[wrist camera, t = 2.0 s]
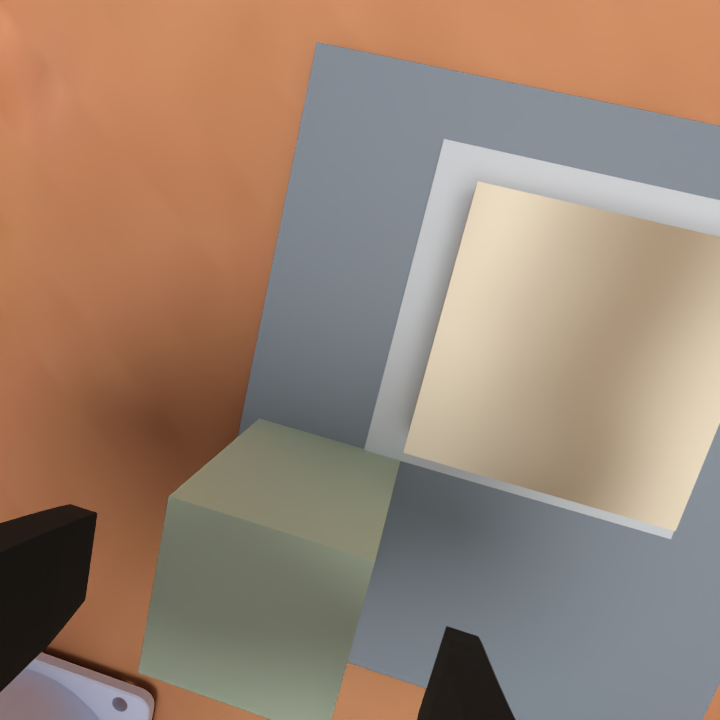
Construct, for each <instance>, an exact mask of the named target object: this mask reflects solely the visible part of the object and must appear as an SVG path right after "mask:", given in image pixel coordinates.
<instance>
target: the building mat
mask: <svg viewBox="0 0 720 720" xmlns="http://www.w3.org/2000/svg"><path fill="white" fill-rule="evenodd" d="M478 181H479V182H483V183H488V184H492V185H496V186H501V187H505V188H509V189H514V190H518V191H522V192H527V193H531V194H535V195H540V196H544V197H549V198H553V199H557V200H562V201H566V202H570V203H575V204H579V205H583V206H588V207H592V208H596V209H601V210H605V211H610V212H614V213H618V214H623V215H627V216H631V217H636V218H640V219H644V220H649V221H653V222H657V223H662V224H666V225H671V226H675V227H679V228H684V229H688V230H692V231H697V232H701V233H705V234H710V235H714V236H718V237H720V126H718V125H713V124H708V123H703V122H698V121H694V120H689V119H684V118H679V117H674V116H670V115H665V114H660V113H655V112H650V111H646V110H641V109H636V108H631V107H626V106H621V105H617V104H612V103H607V102H602V101H597V100H593V99H588V98H583V97H578V96H573V95H569V94H564V93H559V92H554V91H549V90H545V89H540V88H535V87H530V86H525V85H521V84H516V83H511V82H506V81H501V80H497V79H492V78H487V77H482V76H477V75H473V74H468V73H463V72H458V71H453V70H449V69H444V68H439V67H434V66H429V65H425V64H420V63H415V62H410V61H405V60H401V59H396V58H391V57H386V56H381V55H377V54H372V53H367V52H362V51H357V50H353V49H348V48H343V47H338V46H333V45H329V44H324V43H319V42H317V43H316V48H315V53H314V58H313V63H312V68H311V73H310V78H309V83H308V88H307V93H306V98H305V103H304V108H303V113H302V118H301V123H300V128H299V133H298V138H297V143H296V148H295V153H294V158H293V163H292V168H291V173H290V178H289V183H288V188H287V193H286V198H285V203H284V208H283V213H282V218H281V223H280V228H279V233H278V238H277V243H276V248H275V253H274V258H273V263H272V268H271V273H270V278H269V283H268V287H267V292H266V297H265V302H264V307H263V312H262V317H261V322H260V327H259V332H258V337H257V342H256V347H255V352H254V357H253V362H252V367H251V372H250V377H249V382H248V387H247V392H246V397H245V402H244V407H243V412H242V417H241V422H240V427H239V432H238V436H239V435H241V434H242V433H243V432H244V431H245V430H246V429H248V428H249V427H250V426H251V425H252V424H253V423H255V422H256V421H257V420H258V419H259V418H260V419H263V420H266V421H270V422H273V423H277V424H280V425H284V426H287V427H291V428H294V429H297V430H301V431H304V432H308V433H311V434H315V435H318V436H322V437H325V438H328V439H332V440H335V441H339V442H342V443H346V444H349V445H353V446H356V447H359V448H363V449H364V450H365V451H368V452H372V453H375V454H379V455H382V456H386V457H389V458H393V459H396V460H399V461H400V464H399V468H398V472H397V476H396V480H395V484H394V488H393V492H392V496H391V500H390V504H389V508H388V512H387V516H386V520H385V524H384V528H383V532H382V536H381V540H380V544H379V548H378V552H377V556H376V560H375V564H374V567H373V571H372V574H371V578H370V582H369V585H368V589H367V593H366V596H365V600H364V603H363V607H362V611H361V614H360V618H359V622H358V625H357V629H356V632H355V636H354V640H353V643H352V647H351V651H350V654H349V658H348V663H351V664H354V665H357V666H360V667H363V668H366V669H369V670H372V671H375V672H378V673H381V674H384V675H387V676H390V677H393V678H396V679H399V680H402V681H405V682H408V683H411V684H414V685H417V686H420V687H423V688H427V685H428V682H429V679H430V676H431V673H432V669H433V666H434V663H435V660H436V657H437V654H438V651H439V647H440V644H441V641H442V638H443V635H444V632H445V629H446V626H448V627H451V628H454V629H457V630H460V631H464V632H467V633H470V634H473V635H476V636H479V638H480V640H481V642H482V644H483V646H484V649H485V651H486V654H487V656H488V658H489V661H490V663H491V666H492V668H493V670H494V673H495V675H496V677H497V680H498V682H499V684H500V687H501V689H502V691H503V693H504V696H505V698H506V700H507V702H508V705H509V707H510V709H511V711H512V713H513V715H514V717H515V719H518V720H703V718H704V715H705V713H706V711H707V709H708V707H709V705H710V702H711V700H712V698H713V696H714V694H715V692H716V689H717V687H718V685H719V683H720V424H719V426H718V429H717V431H716V434H715V436H714V438H713V441H712V443H711V446H710V448H709V451H708V453H707V456H706V458H705V461H704V463H703V465H702V468H701V470H700V473H699V475H698V478H697V480H696V483H695V485H694V487H693V490H692V492H691V495H690V497H689V500H688V502H687V505H686V507H685V510H684V512H683V514H682V517H681V519H680V522H679V524H678V527H677V529H676V531H673V530H669V529H666V528H662V527H659V526H655V525H652V524H648V523H645V522H641V521H638V520H635V519H631V518H628V517H624V516H621V515H617V514H614V513H610V512H607V511H603V510H600V509H596V508H593V507H589V506H586V505H583V504H579V503H576V502H572V501H569V500H565V499H562V498H558V497H555V496H551V495H548V494H544V493H541V492H538V491H534V490H531V489H527V488H524V487H520V486H517V485H513V484H510V483H506V482H503V481H499V480H496V479H493V478H489V477H486V476H482V475H479V474H475V473H472V472H468V471H465V470H461V469H458V468H454V467H451V466H447V465H444V464H441V463H437V462H434V461H430V460H427V459H423V458H420V457H416V456H413V455H409V454H406V453H403V452H404V448H405V444H406V440H407V436H408V432H409V427H410V424H411V420H412V416H413V413H414V409H415V405H416V402H417V398H418V394H419V391H420V387H421V384H422V380H423V376H424V373H425V369H426V365H427V362H428V358H429V354H430V351H431V347H432V343H433V340H434V336H435V332H436V329H437V325H438V321H439V318H440V314H441V311H442V307H443V303H444V300H445V296H446V292H447V289H448V285H449V281H450V278H451V274H452V270H453V267H454V263H455V259H456V256H457V252H458V249H459V245H460V241H461V238H462V234H463V230H464V227H465V223H466V219H467V216H468V212H469V208H470V205H471V201H472V197H473V194H474V191H475V188H476V185H477V182H478Z"/></svg>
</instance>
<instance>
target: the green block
mask: <svg viewBox="0 0 720 720" xmlns="http://www.w3.org/2000/svg"><path fill="white" fill-rule="evenodd" d="M399 464H400V461H399V460H396V459H393V458H389V457H386V456H382V455H379V454H375V453H372V452H368V451H365V450H364V449H363V448H359V447H356V446H353V445H349V444H346V443H342V442H339V441H335V440H332V439H328V438H325V437H322V436H318V435H315V434H311V433H308V432H304V431H301V430H297V429H294V428H291V427H287V426H284V425H280V424H277V423H273V422H270V421H266V420H263V419H260V418H259V419H258V420H257V421H256V422H255V423H253V424H252V425H251V426H250V427H249V428H248V429H246V430H245V431H244V432H243V433H242V434H241V435H239V436H238V437H237V438H236V439H235V440H234V441H232V442H231V443H230V444H229V445H228V446H227V447H225V448H224V449H223V450H222V451H221V452H220V453H218V454H217V455H216V456H215V457H214V458H213V459H211V460H210V461H209V462H208V463H207V464H206V465H204V466H203V467H202V468H201V469H200V470H199V471H197V472H196V473H195V474H194V475H193V476H192V477H190V478H189V479H188V480H187V481H186V482H185V483H183V484H182V485H181V486H180V487H179V488H178V489H176V490H175V491H174V492H173V493H172V494H171V495H169V497H168V503H167V509H166V514H165V520H164V526H163V532H162V537H161V543H160V549H159V554H158V560H157V566H156V572H155V577H154V583H153V589H152V594H151V600H150V606H149V612H148V617H147V623H146V629H145V634H144V640H143V646H142V652H141V657H140V663H139V669H138V673H141V674H143V675H146V676H149V677H152V678H155V679H158V680H160V681H163V682H166V683H169V684H172V685H175V686H177V687H180V688H183V689H186V690H189V691H192V692H194V693H197V694H200V695H203V696H206V697H209V698H211V699H214V700H217V701H220V702H223V703H225V704H228V705H231V706H234V707H237V708H240V709H242V710H245V711H248V712H251V713H254V714H257V715H259V716H262V717H265V718H268V719H271V720H332V716H333V712H334V709H335V705H336V701H337V698H338V694H339V691H340V687H341V683H342V680H343V676H344V672H345V669H346V665H347V662H348V658H349V654H350V651H351V647H352V643H353V640H354V636H355V632H356V629H357V625H358V622H359V618H360V614H361V611H362V607H363V603H364V600H365V596H366V593H367V589H368V585H369V582H370V578H371V574H372V571H373V567H374V564H375V560H376V556H377V552H378V548H379V544H380V540H381V536H382V532H383V528H384V524H385V520H386V516H387V512H388V508H389V504H390V500H391V496H392V492H393V488H394V484H395V480H396V476H397V472H398V468H399Z"/></svg>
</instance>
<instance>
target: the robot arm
mask: <svg viewBox="0 0 720 720" xmlns="http://www.w3.org/2000/svg"><path fill="white" fill-rule="evenodd" d="M96 519H97V513H96V512H93V511H90V510H86V509H83V508H80V507H77V506H74V505H71V504H69V505H65V506H60V507H56V508H52V509H48V510H44V511H41V512H37V513H34V514H30V515H27V516H23V517H20V518H17V519H13V520H10V521H6V522H3V523H0V720H152V716H153V711H154V699H153V697H152V695H151V694H150V693H149V692H148V691H147V690H145V689H143V688H140V687H138V686H135V685H132V684H129V683H126V682H124V681H121V680H118V679H115V678H112V677H110V676H107V675H104V674H101V673H98V672H95V671H93V670H90V669H87V668H84V667H81V666H79V665H76V664H73V663H70V662H67V661H65V660H62V659H59V658H56V657H53V656H51V655H48V654H45V653H42V651H43V650H44V649H45V648H46V647H47V646H48V645H49V644H50V643H51V641H52V640H53V639H54V638H55V637H56V635H57V634H58V633H59V632H60V631H61V629H62V628H63V627H64V626H65V625H66V623H67V622H68V621H69V620H70V618H71V617H72V616H73V615H74V613H75V612H76V611H77V609H78V608H79V607H80V606H81V604H82V603H83V602H84V601H85V597H86V590H87V583H88V576H89V569H90V562H91V555H92V548H93V540H94V533H95V526H96ZM123 699H124V700H125V701H124V700H123ZM417 720H516V719H515V717H514V715H513V713H512V711H511V709H510V707H509V705H508V702H507V700H506V698H505V696H504V693H503V691H502V689H501V687H500V684H499V682H498V680H497V677H496V675H495V673H494V670H493V668H492V666H491V663H490V661H489V658H488V656H487V654H486V651H485V649H484V646H483V644H482V642H481V640H480V638H479V636H476V635H473V634H470V633H467V632H464V631H460V630H457V629H454V628H451V627H448V626H446V629H445V632H444V635H443V638H442V641H441V644H440V647H439V651H438V654H437V657H436V660H435V663H434V666H433V669H432V673H431V676H430V679H429V682H428V685H427V688H426V691H425V694H424V698H423V701H422V704H421V707H420V710H419V713H418V719H417Z"/></svg>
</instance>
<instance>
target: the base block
mask: <svg viewBox="0 0 720 720" xmlns="http://www.w3.org/2000/svg"><path fill="white" fill-rule="evenodd" d="M719 424H720V237H718V236H714V235H710V234H705V233H701V232H697V231H692V230H688V229H684V228H679V227H675V226H671V225H666V224H662V223H657V222H653V221H649V220H644V219H640V218H636V217H631V216H627V215H623V214H618V213H614V212H610V211H605V210H601V209H596V208H592V207H588V206H583V205H579V204H575V203H570V202H566V201H562V200H557V199H553V198H549V197H544V196H540V195H535V194H531V193H527V192H522V191H518V190H514V189H509V188H505V187H501V186H496V185H492V184H488V183H483V182H479V181H478V182H477V185H476V188H475V191H474V194H473V197H472V201H471V205H470V208H469V212H468V216H467V219H466V223H465V227H464V230H463V234H462V238H461V241H460V245H459V249H458V252H457V256H456V259H455V263H454V267H453V270H452V274H451V278H450V281H449V285H448V289H447V292H446V296H445V300H444V303H443V307H442V311H441V314H440V318H439V321H438V325H437V329H436V332H435V336H434V340H433V343H432V347H431V351H430V354H429V358H428V362H427V365H426V369H425V373H424V376H423V380H422V384H421V387H420V391H419V394H418V398H417V402H416V405H415V409H414V413H413V416H412V420H411V424H410V427H409V432H408V436H407V440H406V444H405V448H404V452H403V453H406V454H409V455H413V456H416V457H420V458H423V459H427V460H430V461H434V462H437V463H441V464H444V465H447V466H451V467H454V468H458V469H461V470H465V471H468V472H472V473H475V474H479V475H482V476H486V477H489V478H493V479H496V480H499V481H503V482H506V483H510V484H513V485H517V486H520V487H524V488H527V489H531V490H534V491H538V492H541V493H544V494H548V495H551V496H555V497H558V498H562V499H565V500H569V501H572V502H576V503H579V504H583V505H586V506H589V507H593V508H596V509H600V510H603V511H607V512H610V513H614V514H617V515H621V516H624V517H628V518H631V519H635V520H638V521H641V522H645V523H648V524H652V525H655V526H659V527H662V528H666V529H669V530H673V531H676V529H677V527H678V524H679V522H680V519H681V517H682V514H683V512H684V510H685V507H686V505H687V502H688V500H689V497H690V495H691V492H692V490H693V487H694V485H695V483H696V480H697V478H698V475H699V473H700V470H701V468H702V465H703V463H704V461H705V458H706V456H707V453H708V451H709V448H710V446H711V443H712V441H713V438H714V436H715V434H716V431H717V429H718V426H719Z"/></svg>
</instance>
